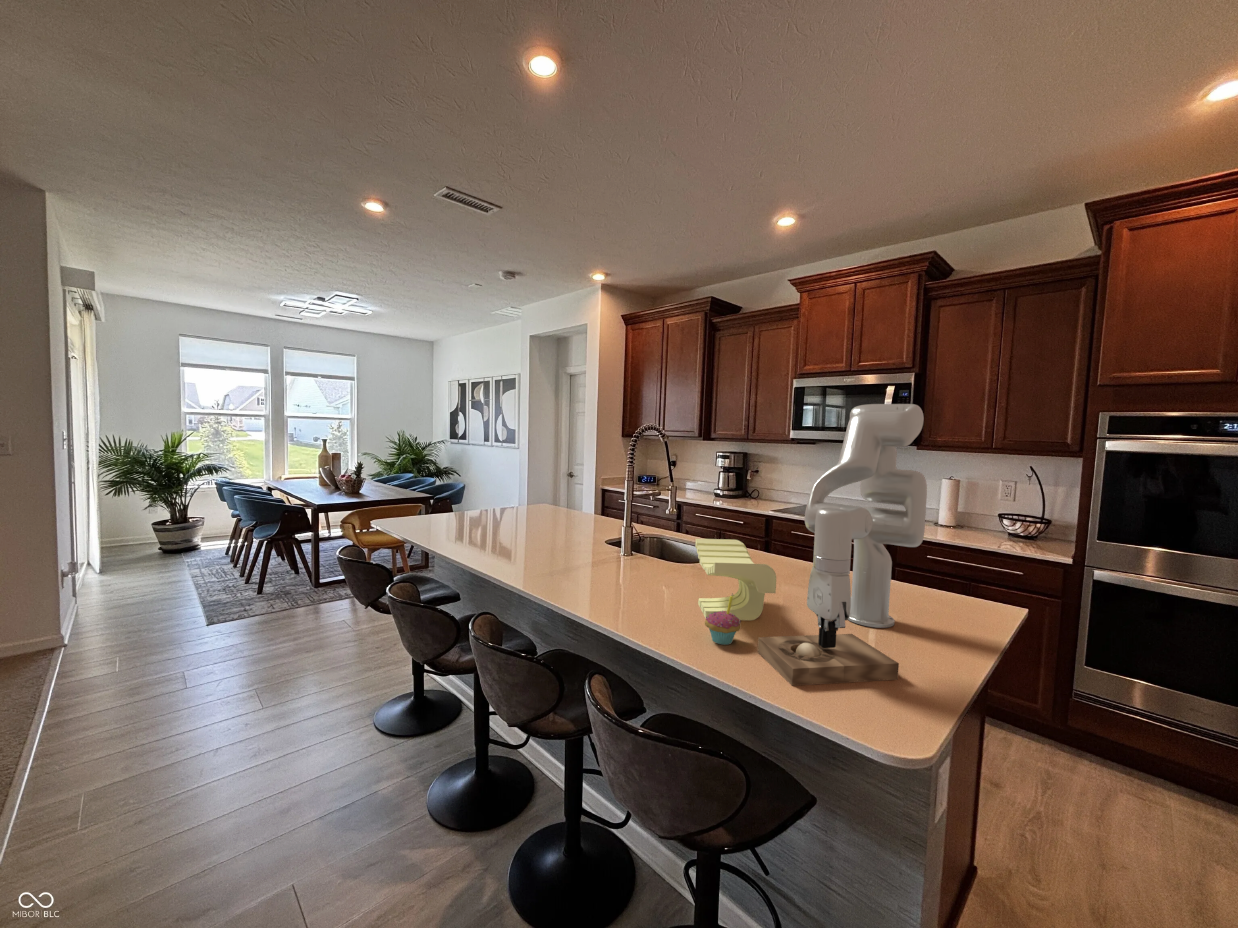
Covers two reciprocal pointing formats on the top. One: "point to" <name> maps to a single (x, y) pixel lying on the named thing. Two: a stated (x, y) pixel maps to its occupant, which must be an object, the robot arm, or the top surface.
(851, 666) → the board
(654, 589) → the top surface
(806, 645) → the ball
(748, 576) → the slatted curved stool
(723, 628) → the cupcake
